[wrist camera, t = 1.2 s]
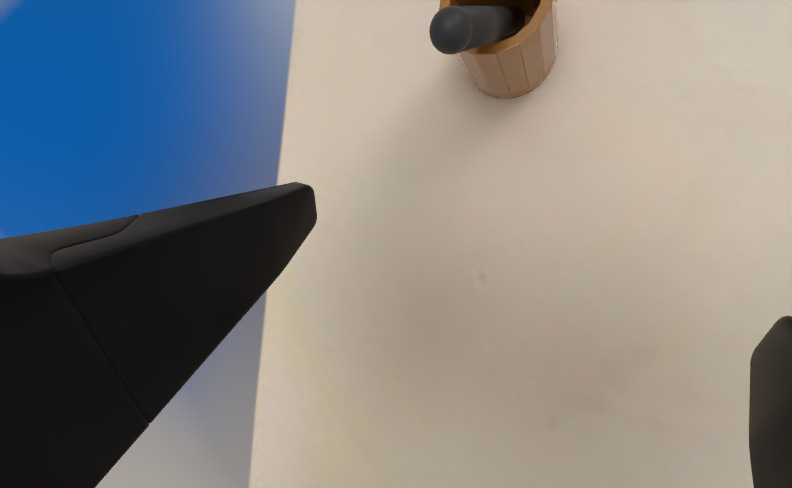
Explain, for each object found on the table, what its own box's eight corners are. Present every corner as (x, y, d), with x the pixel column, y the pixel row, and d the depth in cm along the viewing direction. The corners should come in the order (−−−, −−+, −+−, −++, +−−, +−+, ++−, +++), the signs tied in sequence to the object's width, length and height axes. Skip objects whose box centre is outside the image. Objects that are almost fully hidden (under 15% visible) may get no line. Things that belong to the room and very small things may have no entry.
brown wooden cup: (548, 99, 21) (544, 53, 16) (462, 97, 23) (432, 55, 17) (563, 8, 21) (563, -69, 16) (474, 13, 22) (447, -55, 17)
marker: (509, 131, 21) (464, 42, 12) (483, 130, 22) (420, 43, 12) (528, 13, 21) (497, -178, 11) (501, 14, 21) (451, -168, 12)
